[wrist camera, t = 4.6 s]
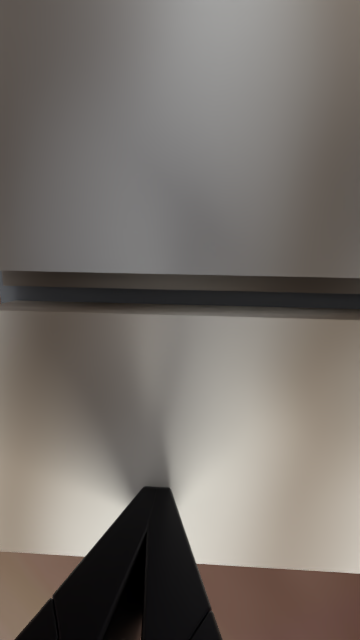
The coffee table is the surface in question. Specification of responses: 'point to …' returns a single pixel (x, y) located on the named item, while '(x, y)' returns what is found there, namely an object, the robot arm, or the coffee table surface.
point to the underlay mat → (179, 297)
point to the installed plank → (180, 144)
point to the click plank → (183, 427)
